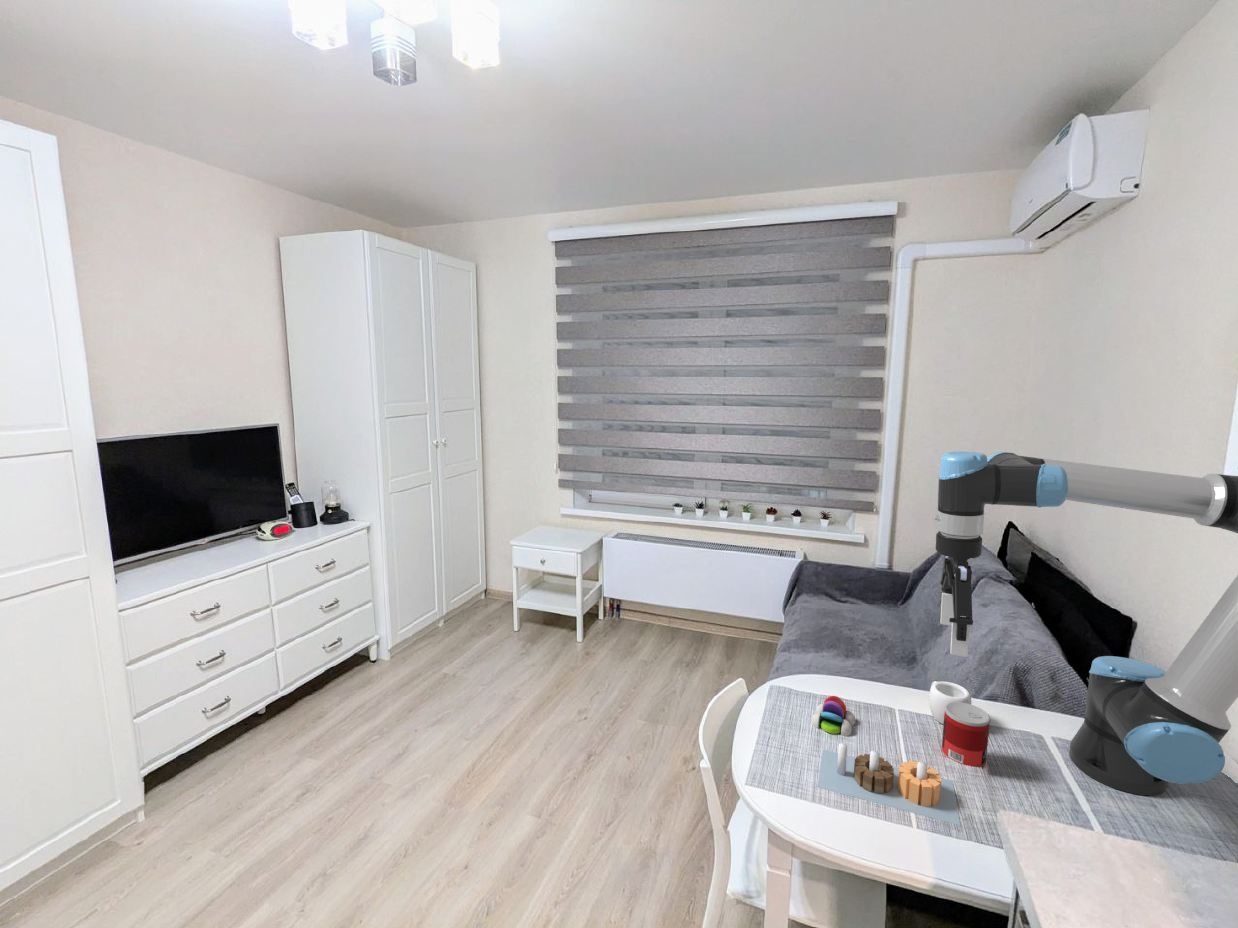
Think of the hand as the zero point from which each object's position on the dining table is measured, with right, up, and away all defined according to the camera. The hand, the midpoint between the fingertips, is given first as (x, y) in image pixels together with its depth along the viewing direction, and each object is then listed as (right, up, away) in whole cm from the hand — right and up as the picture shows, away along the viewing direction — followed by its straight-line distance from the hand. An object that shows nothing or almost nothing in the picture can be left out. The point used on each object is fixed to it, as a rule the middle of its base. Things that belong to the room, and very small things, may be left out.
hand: (953, 638), depth 111 cm
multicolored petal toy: (-16, -27, +19) cm, 37 cm away
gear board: (-13, -30, 0) cm, 33 cm away
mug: (+12, -26, +23) cm, 37 cm away
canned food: (+7, -28, +8) cm, 30 cm away
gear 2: (-8, -28, -3) cm, 30 cm away
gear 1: (-15, -28, +1) cm, 32 cm away
